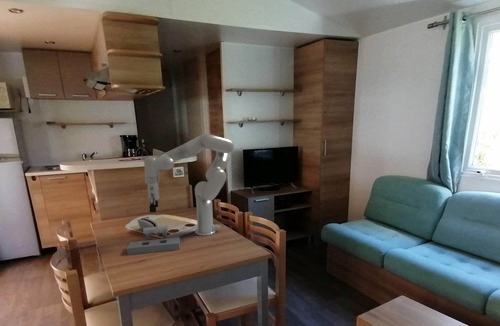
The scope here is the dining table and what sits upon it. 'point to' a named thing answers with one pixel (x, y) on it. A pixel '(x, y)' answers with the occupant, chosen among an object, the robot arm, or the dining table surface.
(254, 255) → the dining table surface
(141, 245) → the rail
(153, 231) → the clip
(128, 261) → the dining table surface
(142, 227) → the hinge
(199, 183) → the robot arm
